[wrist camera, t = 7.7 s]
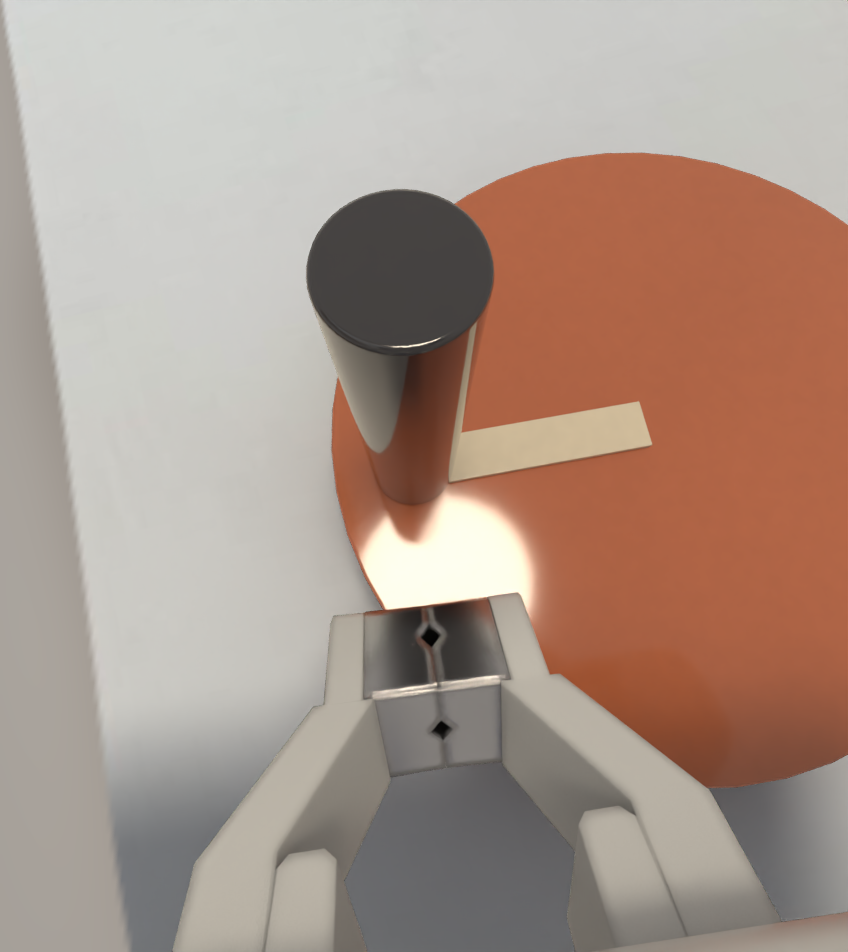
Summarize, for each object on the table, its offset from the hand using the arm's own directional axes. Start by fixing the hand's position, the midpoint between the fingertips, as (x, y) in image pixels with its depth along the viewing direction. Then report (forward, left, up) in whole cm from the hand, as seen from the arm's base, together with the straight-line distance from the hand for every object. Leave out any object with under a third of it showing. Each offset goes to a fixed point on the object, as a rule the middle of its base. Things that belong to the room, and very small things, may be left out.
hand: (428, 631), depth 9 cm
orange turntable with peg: (+5, -6, -5) cm, 9 cm away
